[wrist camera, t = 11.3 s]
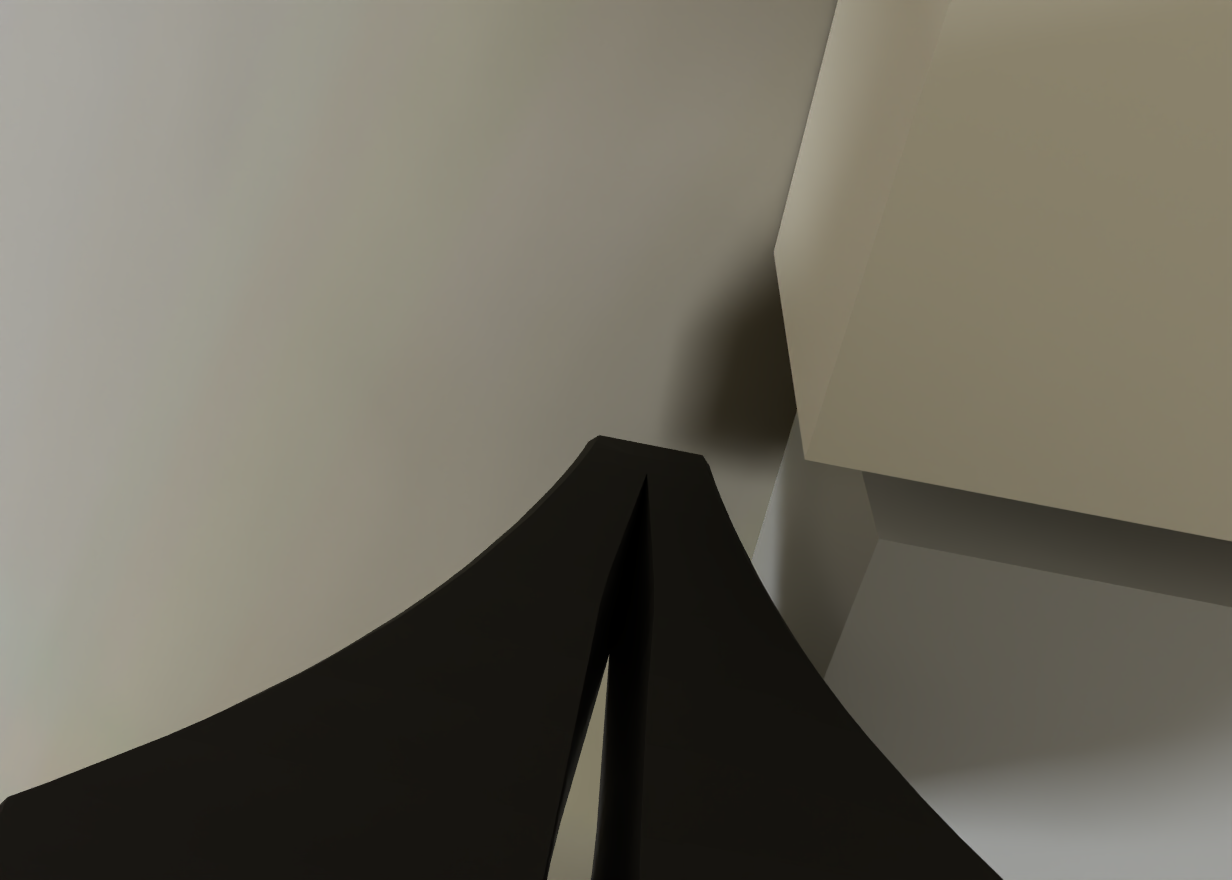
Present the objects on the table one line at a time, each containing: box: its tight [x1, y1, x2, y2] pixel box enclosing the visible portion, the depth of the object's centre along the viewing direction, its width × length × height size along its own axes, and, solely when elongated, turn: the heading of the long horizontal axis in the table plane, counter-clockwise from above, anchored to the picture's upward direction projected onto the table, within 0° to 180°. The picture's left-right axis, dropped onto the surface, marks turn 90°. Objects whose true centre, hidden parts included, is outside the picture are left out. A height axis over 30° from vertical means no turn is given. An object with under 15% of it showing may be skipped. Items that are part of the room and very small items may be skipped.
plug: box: [751, 411, 1232, 880], centre depth 9 cm, size 4×6×4 cm
